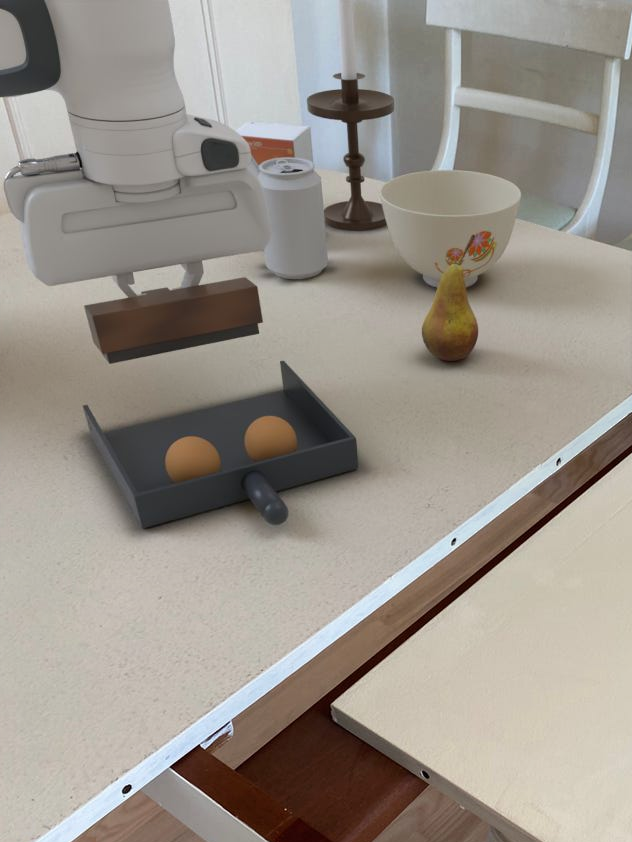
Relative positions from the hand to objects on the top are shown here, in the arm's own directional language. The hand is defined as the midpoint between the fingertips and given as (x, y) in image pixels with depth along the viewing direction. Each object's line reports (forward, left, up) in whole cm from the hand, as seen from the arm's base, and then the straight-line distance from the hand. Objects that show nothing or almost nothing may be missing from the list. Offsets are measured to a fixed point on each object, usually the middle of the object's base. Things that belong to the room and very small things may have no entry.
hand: (166, 314), depth 87 cm
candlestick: (+36, +39, -9) cm, 54 cm away
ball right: (+3, -15, -6) cm, 16 cm away
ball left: (-3, -15, -6) cm, 17 cm away
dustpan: (0, -14, -9) cm, 16 cm away
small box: (+24, +36, -9) cm, 44 cm away
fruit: (+27, -3, -9) cm, 29 cm away
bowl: (+37, +15, -9) cm, 41 cm away
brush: (0, -2, -1) cm, 2 cm away
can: (+22, +26, -9) cm, 35 cm away
